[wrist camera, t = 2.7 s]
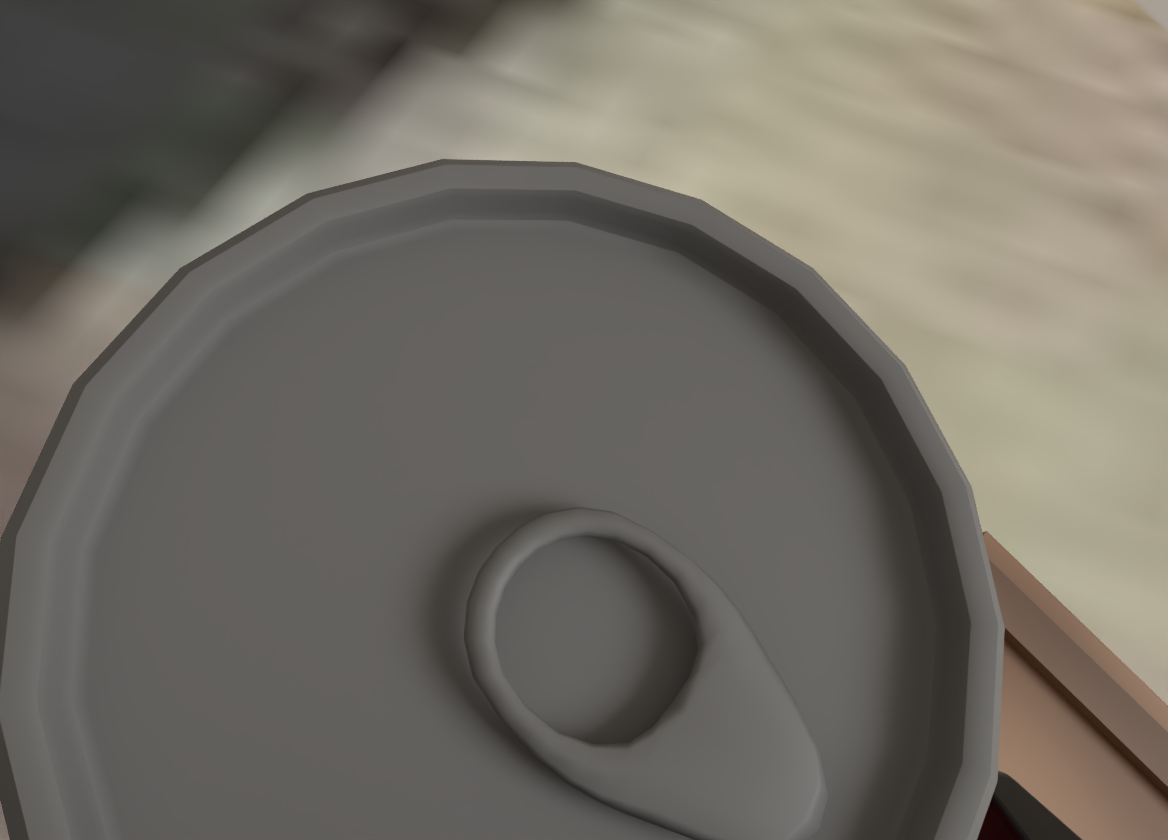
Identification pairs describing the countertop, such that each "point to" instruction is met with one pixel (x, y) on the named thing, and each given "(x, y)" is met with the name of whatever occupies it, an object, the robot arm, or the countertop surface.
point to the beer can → (497, 541)
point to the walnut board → (1076, 717)
